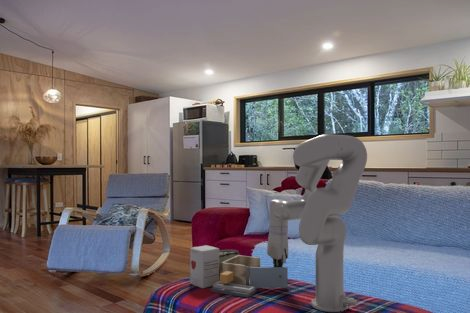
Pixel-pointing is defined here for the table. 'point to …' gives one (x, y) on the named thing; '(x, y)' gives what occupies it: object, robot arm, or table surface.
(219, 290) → the fader board
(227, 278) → the fader knob
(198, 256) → the supplement box
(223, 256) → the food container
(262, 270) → the door
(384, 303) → the table surface
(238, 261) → the tan open box
